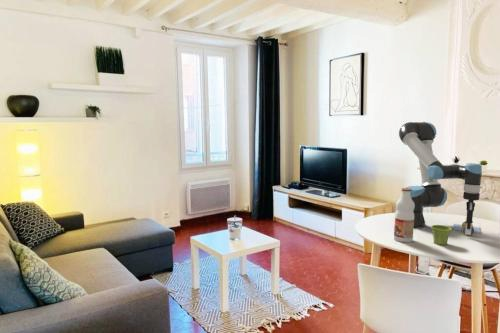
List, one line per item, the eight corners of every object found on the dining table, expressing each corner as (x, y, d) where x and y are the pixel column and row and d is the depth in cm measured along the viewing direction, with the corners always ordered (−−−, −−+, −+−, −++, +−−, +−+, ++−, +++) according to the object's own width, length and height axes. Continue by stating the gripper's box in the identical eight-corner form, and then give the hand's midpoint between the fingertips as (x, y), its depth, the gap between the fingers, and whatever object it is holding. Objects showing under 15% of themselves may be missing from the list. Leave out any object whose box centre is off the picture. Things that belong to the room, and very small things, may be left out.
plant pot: (441, 247, 188) (442, 230, 187) (426, 241, 196) (427, 225, 195) (454, 245, 191) (455, 228, 190) (438, 239, 200) (440, 224, 199)
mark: (481, 233, 212) (481, 233, 212) (453, 229, 219) (453, 229, 219) (479, 227, 224) (479, 227, 224) (453, 223, 231) (453, 223, 231)
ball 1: (466, 221, 214) (465, 218, 219) (459, 228, 216) (459, 224, 221) (475, 227, 212) (474, 223, 217) (468, 234, 215) (468, 230, 219)
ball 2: (467, 221, 210) (466, 229, 213) (461, 226, 208) (460, 233, 211) (477, 227, 205) (475, 234, 208) (470, 231, 204) (469, 238, 207)
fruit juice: (412, 243, 193) (416, 190, 189) (393, 241, 196) (396, 189, 193) (412, 238, 201) (416, 187, 198) (394, 236, 205) (397, 186, 201)
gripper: (480, 194, 193) (476, 238, 196) (479, 190, 205) (475, 232, 208) (463, 193, 197) (460, 236, 200) (463, 189, 208) (460, 230, 211)
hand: (467, 234), depth 204 cm, fingers closed
